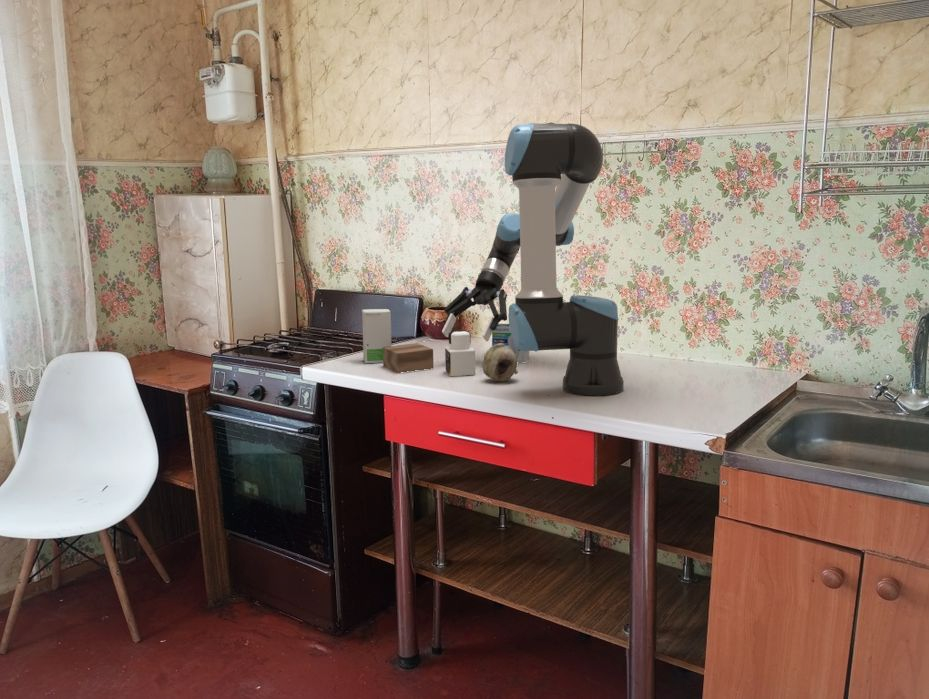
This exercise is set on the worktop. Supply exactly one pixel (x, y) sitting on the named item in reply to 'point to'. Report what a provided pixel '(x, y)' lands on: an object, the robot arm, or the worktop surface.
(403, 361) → the walnut block
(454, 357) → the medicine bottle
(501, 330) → the light bulb box
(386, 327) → the skincare box
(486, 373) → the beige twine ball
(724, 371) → the worktop surface
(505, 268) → the robot arm
